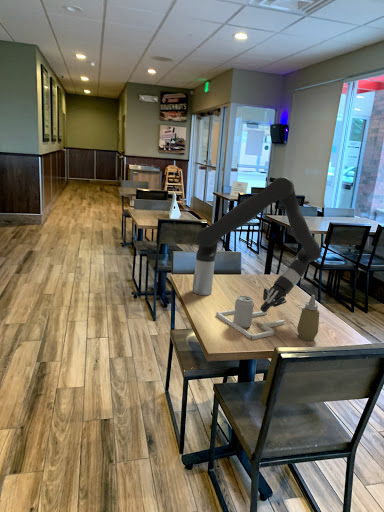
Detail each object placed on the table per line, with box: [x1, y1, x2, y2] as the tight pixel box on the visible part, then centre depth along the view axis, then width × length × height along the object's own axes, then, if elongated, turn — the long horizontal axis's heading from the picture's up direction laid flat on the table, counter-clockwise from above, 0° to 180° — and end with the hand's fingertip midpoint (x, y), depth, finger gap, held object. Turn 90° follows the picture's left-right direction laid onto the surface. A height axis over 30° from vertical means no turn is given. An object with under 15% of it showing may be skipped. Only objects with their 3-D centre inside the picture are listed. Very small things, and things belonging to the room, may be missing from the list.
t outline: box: [215, 308, 285, 340], centre depth 164 cm, size 23×24×2 cm
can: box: [232, 295, 255, 329], centre depth 159 cm, size 8×8×12 cm
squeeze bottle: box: [296, 294, 320, 342], centre depth 151 cm, size 8×8×18 cm
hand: (262, 310), depth 165 cm, fingers closed
